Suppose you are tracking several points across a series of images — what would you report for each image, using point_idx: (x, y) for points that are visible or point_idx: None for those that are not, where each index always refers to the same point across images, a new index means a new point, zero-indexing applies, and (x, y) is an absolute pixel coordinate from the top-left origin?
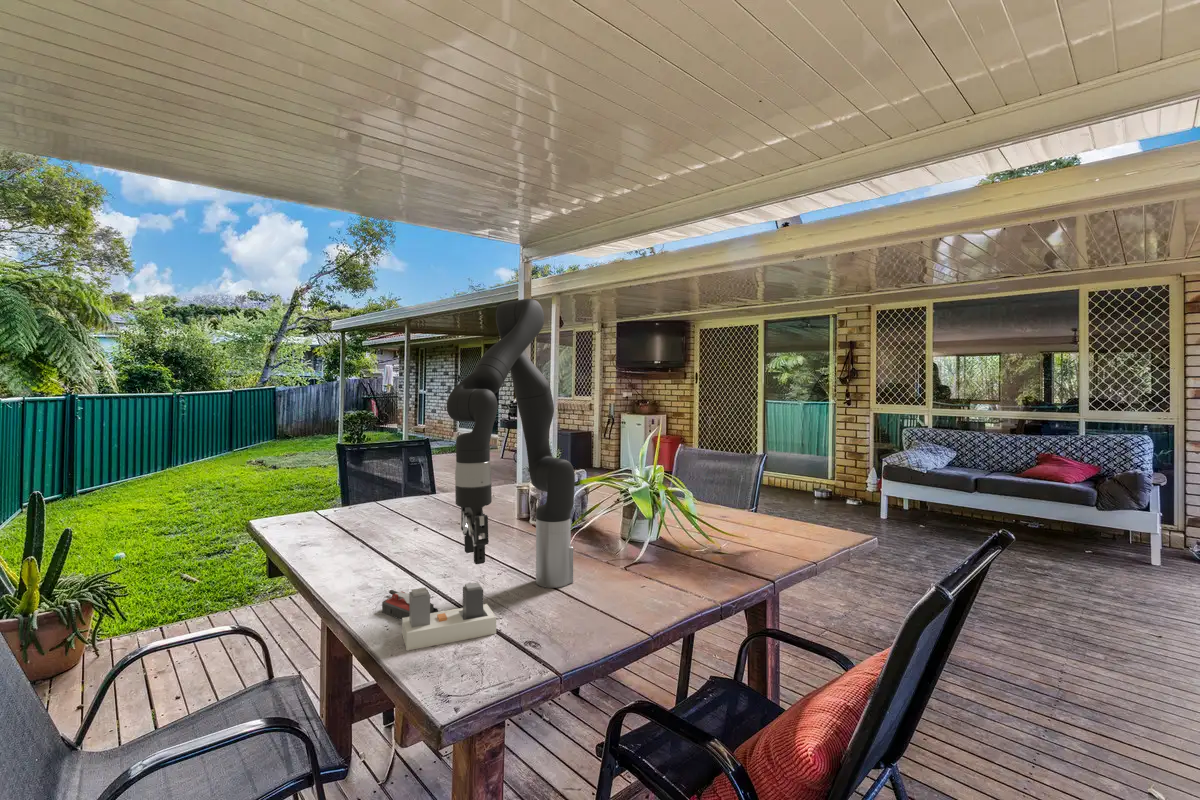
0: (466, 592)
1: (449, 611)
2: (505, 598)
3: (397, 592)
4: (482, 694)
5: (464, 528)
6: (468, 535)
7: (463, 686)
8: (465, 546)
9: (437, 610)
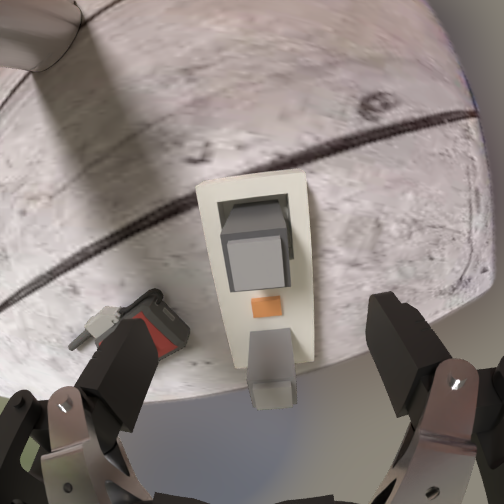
0: (290, 285)
1: (225, 286)
2: (93, 130)
3: (77, 344)
4: (478, 236)
5: (147, 496)
6: (115, 422)
7: (454, 259)
8: (149, 384)
9: (157, 293)
